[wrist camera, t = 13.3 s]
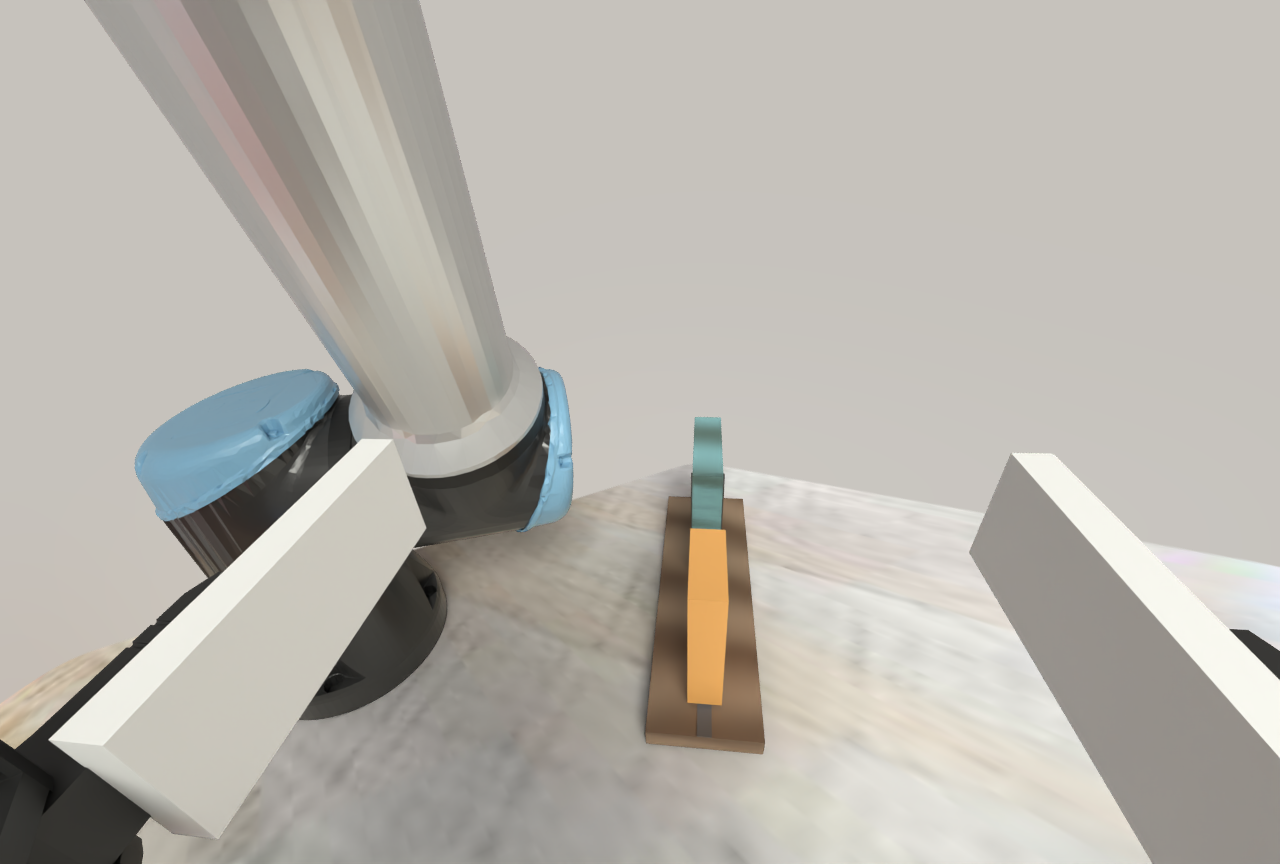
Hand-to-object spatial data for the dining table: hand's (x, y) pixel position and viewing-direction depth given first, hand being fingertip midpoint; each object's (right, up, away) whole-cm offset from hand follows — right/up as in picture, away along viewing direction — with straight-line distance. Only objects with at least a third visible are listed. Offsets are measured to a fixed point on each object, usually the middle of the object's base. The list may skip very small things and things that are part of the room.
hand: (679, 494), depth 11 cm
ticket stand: (+5, -14, +34) cm, 37 cm away
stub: (+4, -16, +27) cm, 31 cm away
